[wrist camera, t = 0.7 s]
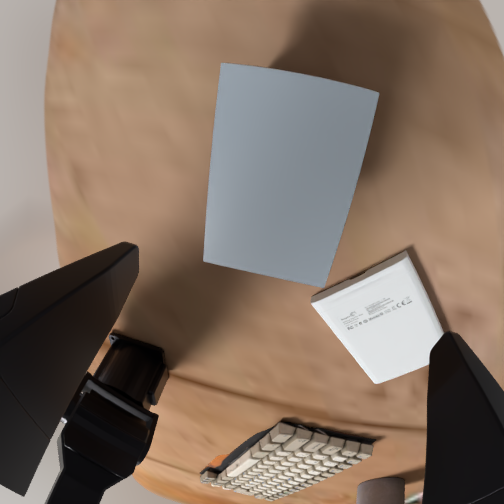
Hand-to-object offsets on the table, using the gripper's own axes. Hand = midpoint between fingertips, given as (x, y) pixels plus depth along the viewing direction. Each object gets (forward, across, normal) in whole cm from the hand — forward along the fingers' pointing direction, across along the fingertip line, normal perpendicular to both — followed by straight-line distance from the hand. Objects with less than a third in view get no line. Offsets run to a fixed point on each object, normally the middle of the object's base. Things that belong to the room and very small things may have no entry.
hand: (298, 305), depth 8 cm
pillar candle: (+13, -33, +53) cm, 64 cm away
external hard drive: (+14, -10, +11) cm, 21 cm away
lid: (+8, +1, 0) cm, 9 cm away
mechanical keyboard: (+13, -10, +49) cm, 52 cm away
